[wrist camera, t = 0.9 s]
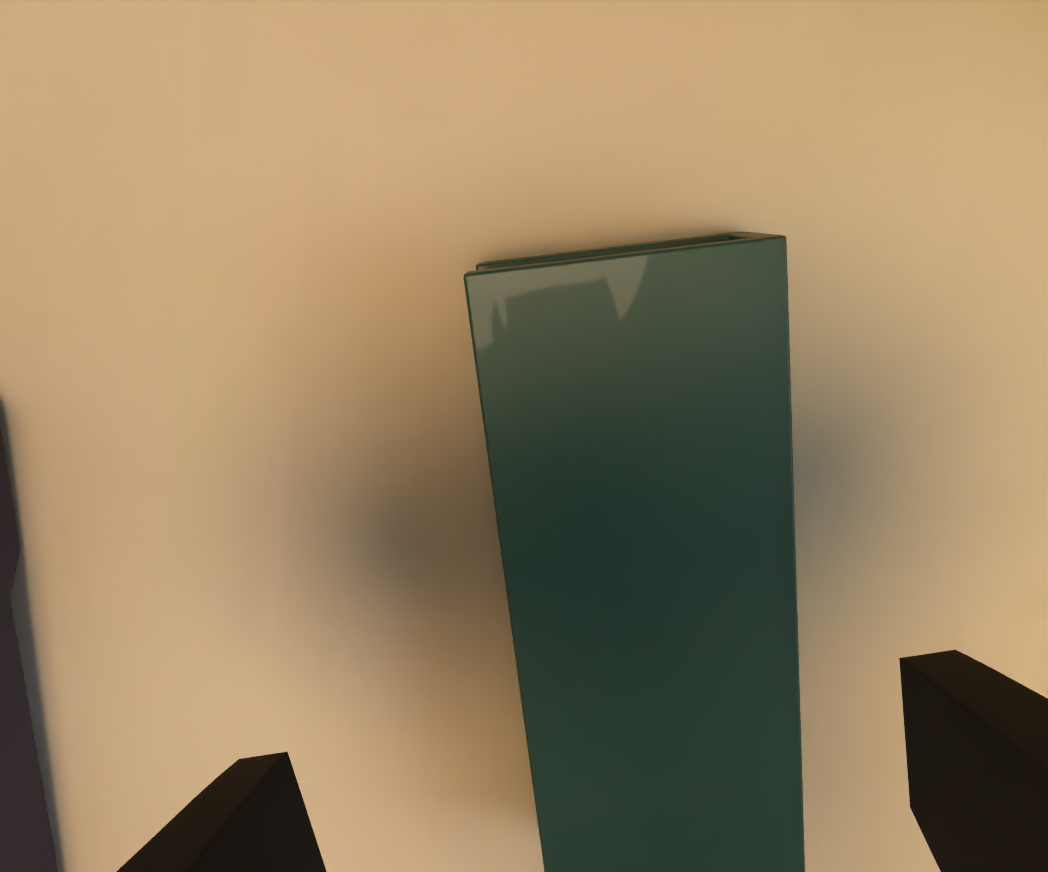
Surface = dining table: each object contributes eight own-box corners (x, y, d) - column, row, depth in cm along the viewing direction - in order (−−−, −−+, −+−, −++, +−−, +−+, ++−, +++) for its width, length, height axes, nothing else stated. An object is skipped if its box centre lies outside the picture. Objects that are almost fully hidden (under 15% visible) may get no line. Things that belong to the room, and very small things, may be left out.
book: (768, 811, 20) (806, 914, 17) (551, 828, 20) (552, 932, 17) (743, 231, 16) (787, 235, 13) (477, 262, 16) (462, 273, 13)
